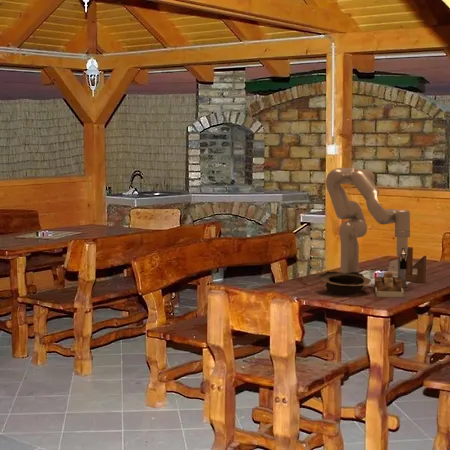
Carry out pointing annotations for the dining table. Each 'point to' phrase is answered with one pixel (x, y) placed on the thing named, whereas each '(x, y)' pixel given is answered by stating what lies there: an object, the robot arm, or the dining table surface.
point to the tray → (389, 293)
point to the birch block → (388, 282)
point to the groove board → (380, 287)
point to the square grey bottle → (401, 274)
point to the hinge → (394, 268)
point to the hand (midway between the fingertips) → (402, 267)
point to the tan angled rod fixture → (419, 266)
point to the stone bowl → (344, 282)
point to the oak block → (388, 275)
